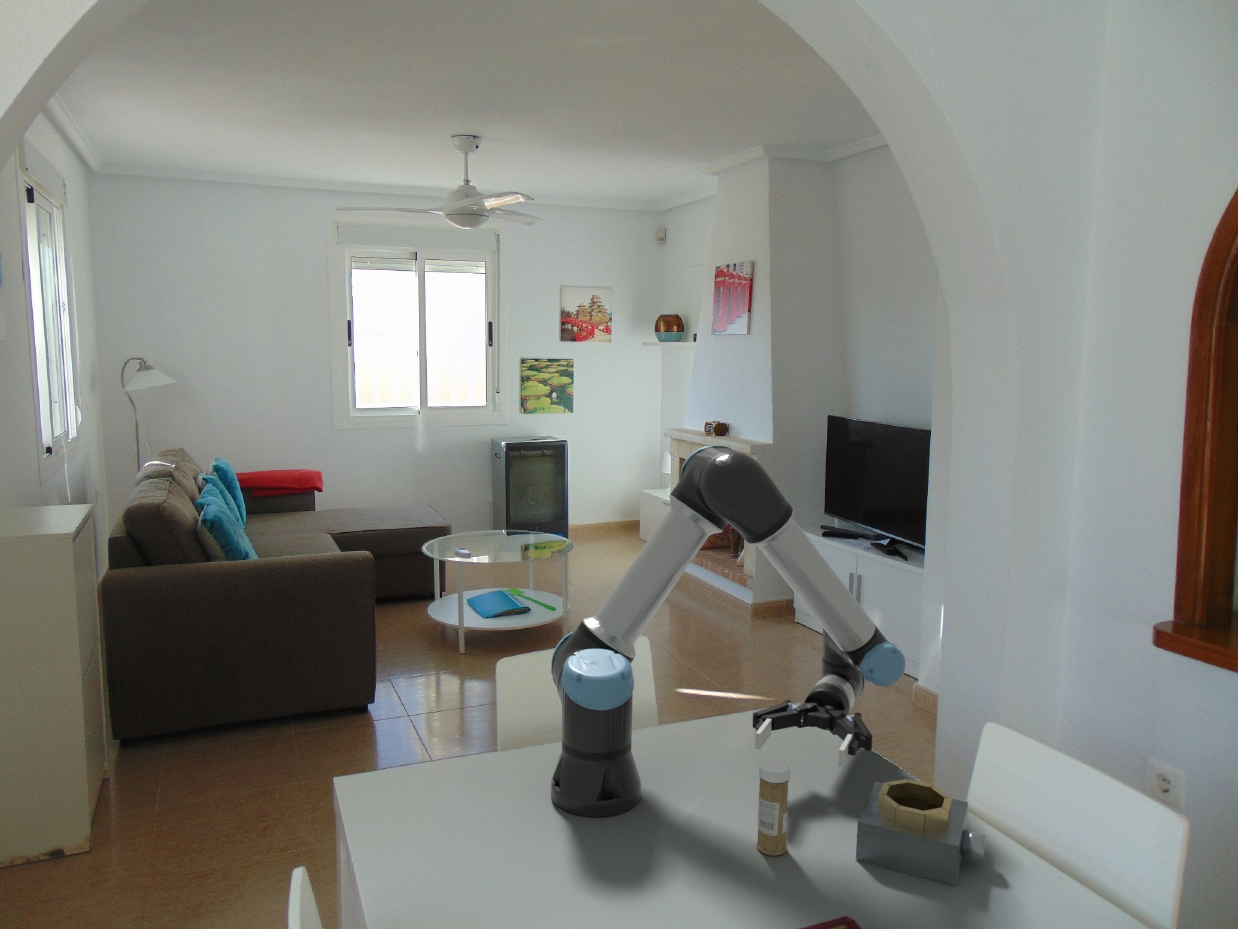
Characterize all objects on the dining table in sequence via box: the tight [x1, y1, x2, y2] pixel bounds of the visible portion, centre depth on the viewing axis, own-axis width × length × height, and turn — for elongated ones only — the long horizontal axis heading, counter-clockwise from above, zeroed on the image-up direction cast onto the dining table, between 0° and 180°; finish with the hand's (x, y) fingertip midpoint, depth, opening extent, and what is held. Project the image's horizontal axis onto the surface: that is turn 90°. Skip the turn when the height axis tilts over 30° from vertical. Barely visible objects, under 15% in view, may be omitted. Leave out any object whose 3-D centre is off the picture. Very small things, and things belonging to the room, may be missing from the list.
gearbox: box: [855, 778, 987, 887], centre depth 133 cm, size 17×14×8 cm
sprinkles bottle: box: [756, 758, 791, 857], centre depth 133 cm, size 5×5×13 cm
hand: (798, 749), depth 142 cm, fingers open, 13 cm apart
